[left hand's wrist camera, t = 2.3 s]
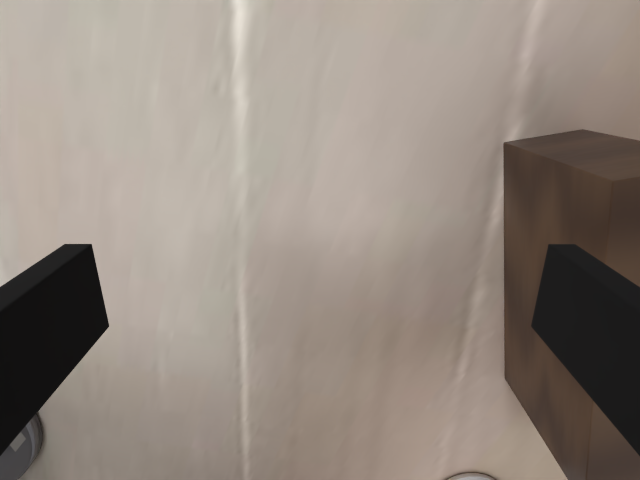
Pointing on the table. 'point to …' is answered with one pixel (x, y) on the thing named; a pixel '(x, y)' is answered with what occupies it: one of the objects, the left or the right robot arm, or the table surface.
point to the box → (526, 271)
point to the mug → (471, 477)
